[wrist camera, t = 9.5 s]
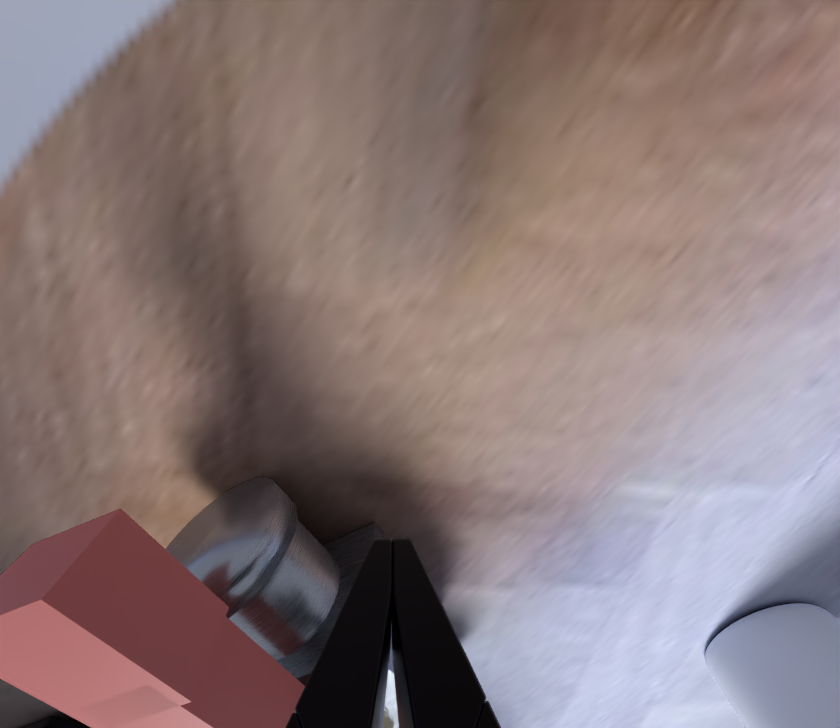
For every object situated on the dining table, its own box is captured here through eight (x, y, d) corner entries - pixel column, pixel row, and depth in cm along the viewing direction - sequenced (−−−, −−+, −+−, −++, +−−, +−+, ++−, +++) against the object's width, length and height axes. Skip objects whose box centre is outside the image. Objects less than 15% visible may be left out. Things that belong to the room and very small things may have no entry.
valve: (371, 687, 22) (366, 816, 17) (171, 517, 15) (76, 655, 10) (477, 647, 21) (501, 773, 16) (314, 448, 14) (277, 567, 10)
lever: (392, 743, 14) (392, 827, 12) (316, 765, 14) (305, 851, 12) (135, 502, 8) (59, 592, 6) (18, 549, 8) (-87, 648, 6)
